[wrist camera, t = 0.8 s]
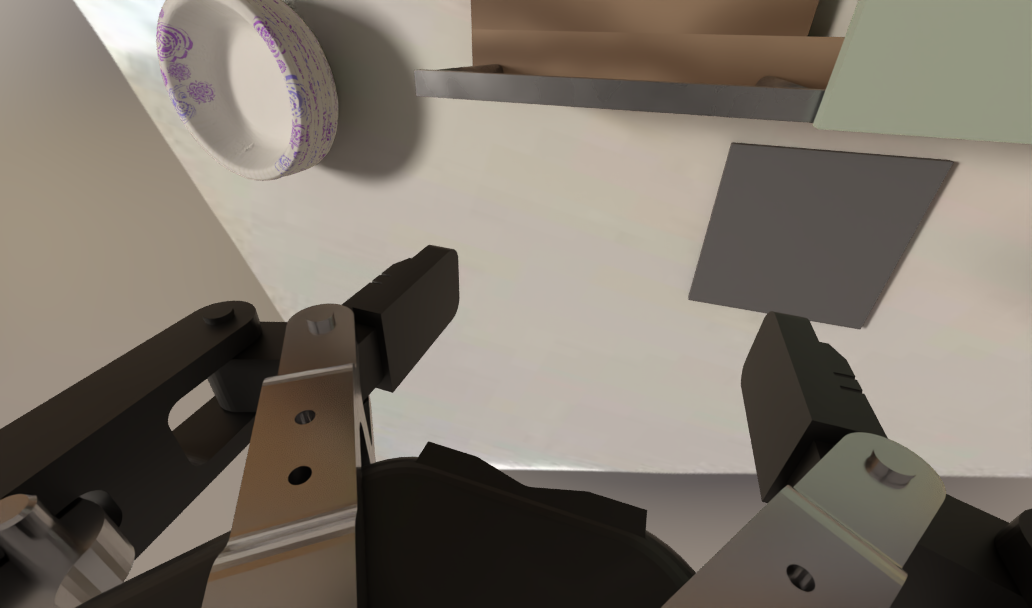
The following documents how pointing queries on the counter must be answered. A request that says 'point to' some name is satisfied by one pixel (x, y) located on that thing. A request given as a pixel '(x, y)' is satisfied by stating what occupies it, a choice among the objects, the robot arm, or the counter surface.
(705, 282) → the charcoal mat
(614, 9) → the wooden base board
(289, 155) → the paper bowls
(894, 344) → the counter surface
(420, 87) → the cover rails
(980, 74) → the sliding cover
